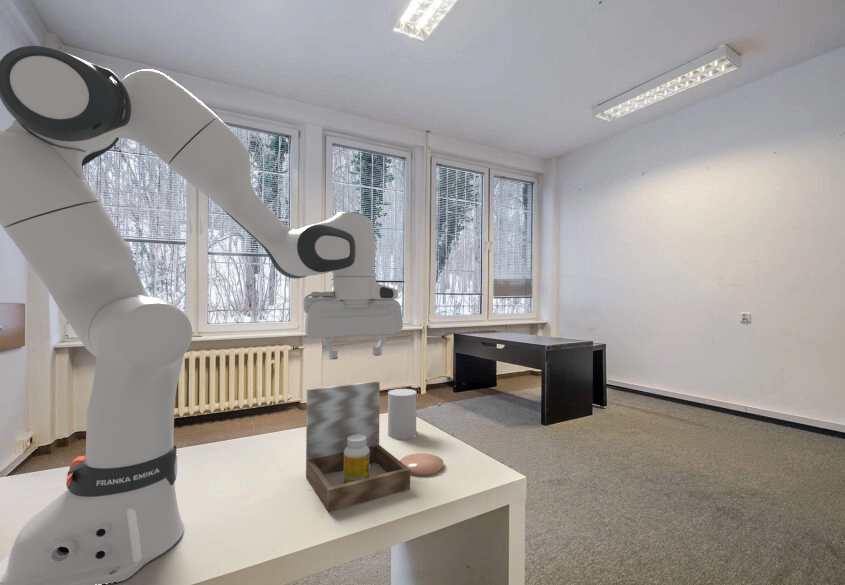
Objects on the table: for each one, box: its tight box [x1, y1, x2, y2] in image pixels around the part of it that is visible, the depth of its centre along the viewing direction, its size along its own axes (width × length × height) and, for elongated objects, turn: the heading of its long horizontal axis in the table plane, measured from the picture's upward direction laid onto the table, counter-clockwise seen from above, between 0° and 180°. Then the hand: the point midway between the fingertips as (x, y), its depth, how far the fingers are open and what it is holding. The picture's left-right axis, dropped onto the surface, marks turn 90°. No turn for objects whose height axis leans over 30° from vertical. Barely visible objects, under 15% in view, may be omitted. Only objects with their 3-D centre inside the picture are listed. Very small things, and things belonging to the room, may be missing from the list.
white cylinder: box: [387, 388, 417, 440], centre depth 110 cm, size 8×8×12 cm
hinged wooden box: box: [305, 380, 411, 513], centre depth 81 cm, size 17×16×19 cm
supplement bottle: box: [343, 434, 370, 484], centre depth 81 cm, size 5×5×10 cm
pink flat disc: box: [399, 452, 444, 477], centre depth 89 cm, size 10×10×1 cm
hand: (355, 357), depth 81 cm, fingers open, 8 cm apart
